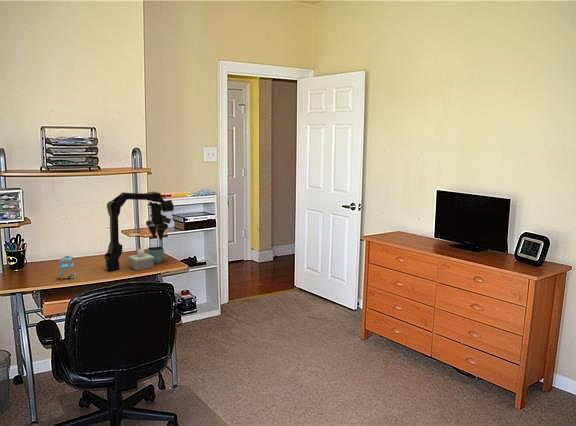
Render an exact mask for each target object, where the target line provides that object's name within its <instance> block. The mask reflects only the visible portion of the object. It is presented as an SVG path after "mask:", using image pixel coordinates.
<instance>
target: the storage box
mask: <svg viewBox="0 0 576 426" xmlns="http://www.w3.org/2000/svg"><path fill="white" fill-rule="evenodd" d="M129 267H130V268H131V269H133V270H135V271H142V270H147V269H152V268H154V263H153V259H147V260H142V261H134V260H132V259H130V258H129Z"/></svg>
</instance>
